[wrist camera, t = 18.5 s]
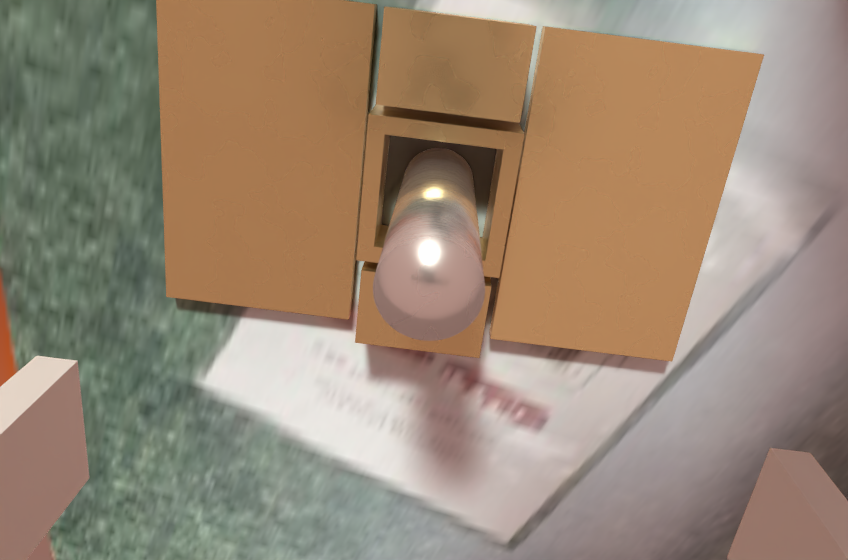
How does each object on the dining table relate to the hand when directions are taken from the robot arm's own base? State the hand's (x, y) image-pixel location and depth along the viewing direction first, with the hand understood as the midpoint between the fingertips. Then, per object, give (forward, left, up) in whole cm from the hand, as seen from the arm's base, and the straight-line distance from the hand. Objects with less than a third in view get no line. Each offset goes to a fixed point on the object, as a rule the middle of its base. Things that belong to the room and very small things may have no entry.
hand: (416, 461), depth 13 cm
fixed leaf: (0, -5, -23) cm, 24 cm away
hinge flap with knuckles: (0, +5, -23) cm, 23 cm away
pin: (0, 0, -23) cm, 23 cm away
